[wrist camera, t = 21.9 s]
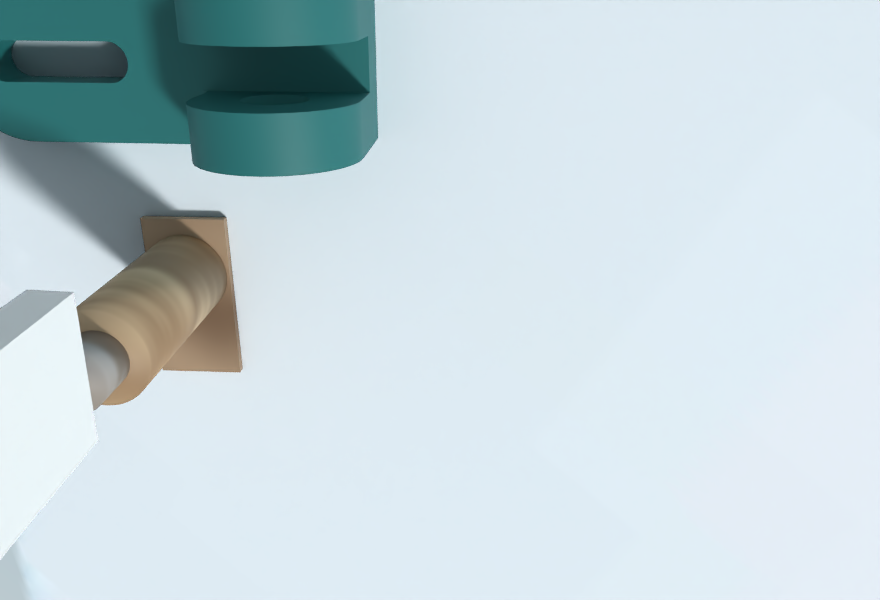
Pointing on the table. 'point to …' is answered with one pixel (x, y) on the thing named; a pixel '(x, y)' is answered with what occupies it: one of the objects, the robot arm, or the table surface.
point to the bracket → (205, 80)
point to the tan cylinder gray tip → (147, 315)
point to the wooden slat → (218, 331)
